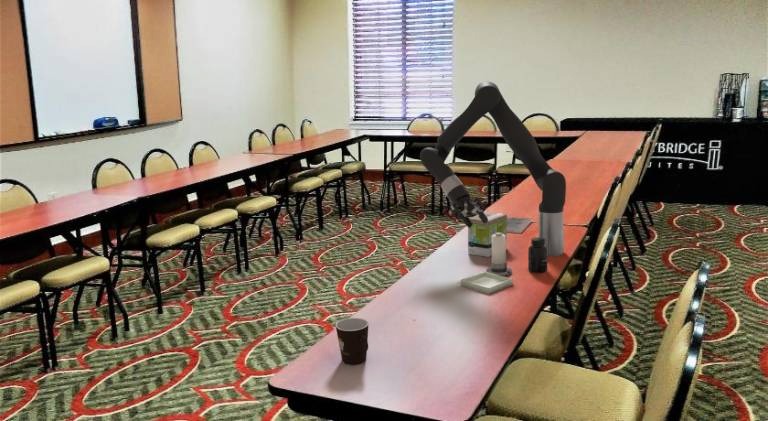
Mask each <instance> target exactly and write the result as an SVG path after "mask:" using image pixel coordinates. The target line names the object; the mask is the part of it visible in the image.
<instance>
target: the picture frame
mask: <svg viewBox="0 0 768 421" xmlns="http://www.w3.org/2000/svg"><path fill="white" fill-rule="evenodd" d="M531 223H532V218H531V217H518V216H517V217H514V216H513V217H512V216H507V233H511V234H512V233H514V234H515V233H516V234H522V232H524V231H525V230H526V228H527V227H528V226H529V225H530V224H531Z"/></svg>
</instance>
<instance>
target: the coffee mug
mask: <svg viewBox="0 0 768 421" xmlns="http://www.w3.org/2000/svg"><path fill="white" fill-rule="evenodd" d="M335 331H336V335H337V340H338V347H339V351H340V356H341V357H340V358H341V361H343V362H344V363H345V365H347V364H349V365H348V366H357V364H359V365H362V364H364V363H365V362H366V361H367V354H368V350H369V342H368V341H369V340H368V339H369V320H368V319H367V320H366V319H365V318H360V317H350V318H349V317H348V318H344V319H340V320H339V321H337V322H336V323H335ZM343 362H342V363H343ZM363 362H364V363H363ZM344 363H343V364H344ZM361 363H362V364H361Z"/></svg>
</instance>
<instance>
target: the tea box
mask: <svg viewBox="0 0 768 421" xmlns="http://www.w3.org/2000/svg"><path fill="white" fill-rule="evenodd" d="M484 214H485V215H486V217H487V218H488V221H487V222H486V223H483V222H482V220H481V219H480V217H479V215H477V214H476V215H474V216H472V217H468V218H469V219H470V221H471V222H472V224H473V225H472V226H471V227H470V228H468V227H467V229H468V230H467V253H468V254H469V255H473V256H479V257H487V258H489V257H492V235H493V234H495V233H502V234H504V235H506V239H508V238H507V236H508V235H507V233H508V232H507V217H508V216H507V215H508V214H507V213H498V212H493V211H492V212H489V211H484ZM506 243H507V240H506Z"/></svg>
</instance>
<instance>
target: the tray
mask: <svg viewBox="0 0 768 421" xmlns="http://www.w3.org/2000/svg"><path fill="white" fill-rule="evenodd" d="M513 282H514V280H513V278H511V277H508V276H505V277H504V276H500V275H496V274H492V273H489V272H486V271H482V272H478V273H476V274H473V275H470V276H468V277H465V278H462V279H460V282H459V284H460V286H461V287H464V288H467V289H471V290H475V291H478V292H481V293H484V294H488V295H490V294H493V293H494V292H497V291H499V290H502V289H505V288H507V287H509V286H512V285H513V284H514V283H513Z"/></svg>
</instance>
